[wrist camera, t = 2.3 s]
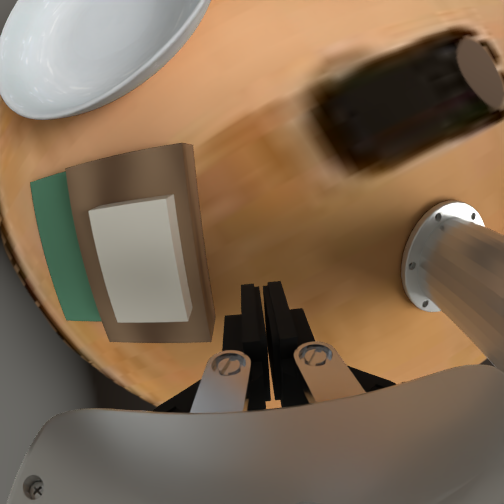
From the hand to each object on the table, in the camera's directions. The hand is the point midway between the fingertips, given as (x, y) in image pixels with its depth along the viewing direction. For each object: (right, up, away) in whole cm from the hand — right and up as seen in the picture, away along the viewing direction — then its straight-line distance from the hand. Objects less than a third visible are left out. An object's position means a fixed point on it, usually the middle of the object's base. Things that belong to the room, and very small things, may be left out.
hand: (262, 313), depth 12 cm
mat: (-19, +3, +12) cm, 23 cm away
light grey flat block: (-9, +2, +8) cm, 12 cm away
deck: (-10, +3, +12) cm, 16 cm away
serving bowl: (-13, +24, +5) cm, 28 cm away
